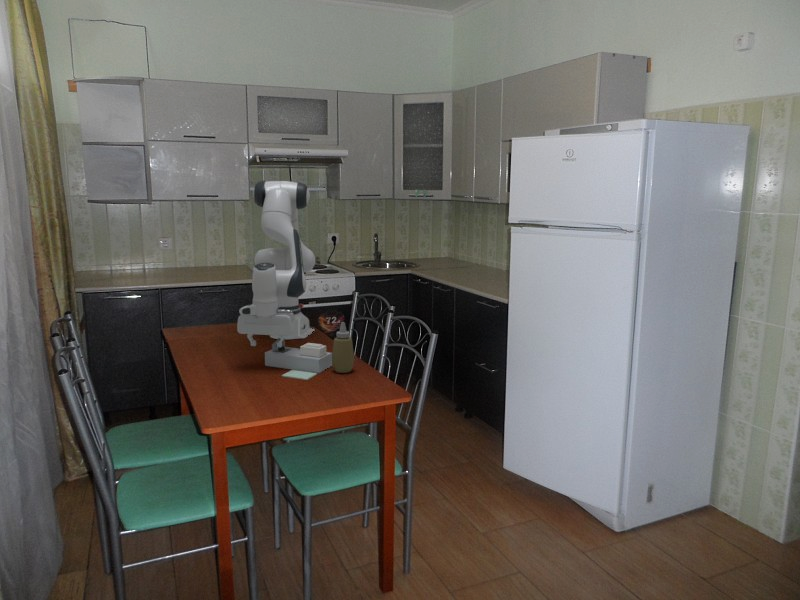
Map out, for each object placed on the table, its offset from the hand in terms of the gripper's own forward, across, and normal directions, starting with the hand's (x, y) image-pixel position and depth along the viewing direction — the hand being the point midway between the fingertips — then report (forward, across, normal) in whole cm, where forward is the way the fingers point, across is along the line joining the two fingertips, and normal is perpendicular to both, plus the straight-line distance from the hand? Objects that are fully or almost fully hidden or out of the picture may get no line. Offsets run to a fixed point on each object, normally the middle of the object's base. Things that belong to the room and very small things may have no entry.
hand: (266, 346), depth 220 cm
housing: (+8, -10, -5) cm, 14 cm away
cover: (+3, -16, -3) cm, 17 cm away
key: (+3, -3, -3) cm, 6 cm away
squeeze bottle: (+8, -28, -1) cm, 29 cm away
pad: (+8, -14, +6) cm, 17 cm away
